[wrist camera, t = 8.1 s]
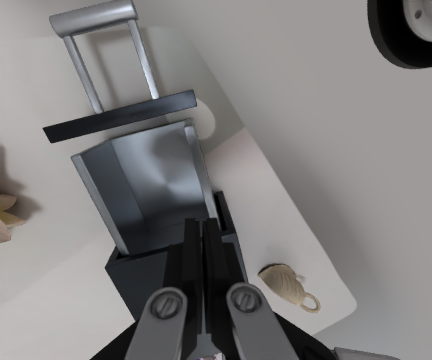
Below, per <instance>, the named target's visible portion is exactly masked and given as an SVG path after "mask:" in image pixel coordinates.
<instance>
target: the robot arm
mask: <svg viewBox="0 0 432 360" xmlns="http://www.w3.org/2000/svg"><path fill="white" fill-rule="evenodd" d="M401 8H402V13H403V17H404V21H405V23H406V25H407V27H408V29H409V30H410V31H411V32H412V34H413V35H414V36H416V37H417V38H419V39H420V40H423V41H427V42H432V0H401ZM203 297H204V313H205V329H206V334H211V343H214V346H215V347H216V348H217V349H218V350H220V351H221V352H222V360H400V359H398V358H395V357H392V356H387V355H380V354H375V353H368V352H363V351H357V350H350V349H345V348H338V347H335V348H334V350H330V349H328V348H327V347H326V346H325V345H324V344H322V343H321V342H319V341H318V340H316V339H315V338H313V337H312V336H310V335H309V334H307V333H306V332H304V331H303V330H301V329H300V328H298V327H297V326H295V325H294V324H292V323H291V322H289V321H288V320H286V319H284V318H283V317H281V316H280V315H278V314H277V313H275V312H274V311H272V309H271V307H270V305H269V303H268V301H267V300H266V298H265V296H264V294H263V293H262V292H261V290H260V289H259V288H257V287H256V286H254V285H252V284H250V283H245V280H244V277H243V273H242V270H241V266H240V263H239V260H238V256H237V253H236V250H235V246H234V243H233V242H222V238H221V233H220V229H219V224H218V220H217V218H207V219H206V221H203V223H202V252H201V236H200V221H195V218H185V226H184V244H169V247H168V253H167V260H166V266H165V272H164V279H163V285H162V288H161V289H159V290H157V291H155V292H154V293H153V294H152V295H151V296H150V297H149V299H148V301H147V302H146V305H145V307H144V310H143V313H142V315H141V317H140V318H139V319H138V320H137V321H136V322H134V323H133V324H132V325H131V326H130V327H128V328H127V329H126V330H125V331H124V332H122V333H121V334H120V335H119V336H118V337H116V338H115V339H114V340H113V341H111V342H110V343H109V344H108V345H107V346H105V347H104V348H103V349H102V350H101V351H99V352H98V353H97V354H96V355H95V356H93V357H92V358H91V359H90V360H188V357H189V356H190V355H191V353H192V352H193V351H194V350H195V349H196V347H197V335H201V334H202V308H203Z"/></svg>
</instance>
